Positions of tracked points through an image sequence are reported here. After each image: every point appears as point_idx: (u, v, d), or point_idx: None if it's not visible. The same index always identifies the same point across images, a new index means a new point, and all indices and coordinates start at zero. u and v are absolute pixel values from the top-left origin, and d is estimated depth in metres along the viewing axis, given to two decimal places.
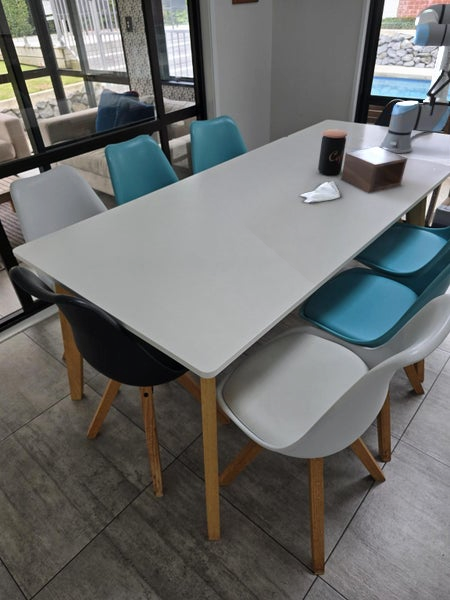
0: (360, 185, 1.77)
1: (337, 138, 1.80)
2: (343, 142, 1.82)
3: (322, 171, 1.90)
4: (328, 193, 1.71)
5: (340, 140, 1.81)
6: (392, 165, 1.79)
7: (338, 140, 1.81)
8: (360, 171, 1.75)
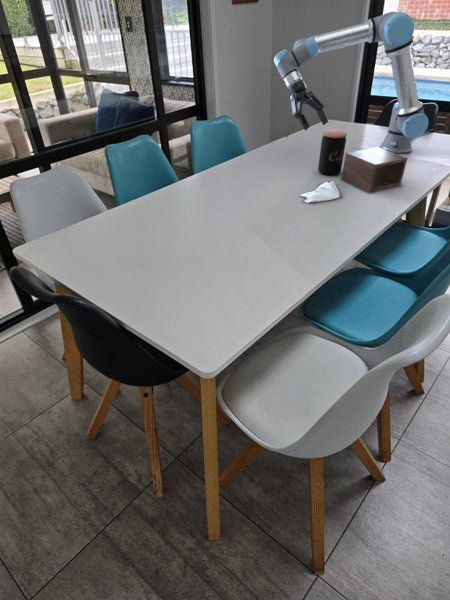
0: (360, 185, 1.77)
1: (337, 138, 1.80)
2: (343, 142, 1.82)
3: (322, 171, 1.90)
4: (328, 193, 1.71)
5: (340, 140, 1.81)
6: (392, 165, 1.79)
7: (338, 140, 1.81)
8: (360, 171, 1.75)
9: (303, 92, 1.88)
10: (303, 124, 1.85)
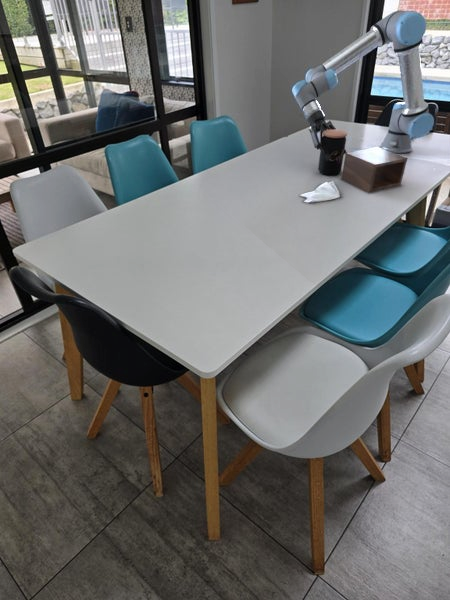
0: (360, 185, 1.77)
1: (337, 138, 1.80)
2: (343, 142, 1.82)
3: (322, 171, 1.90)
4: (328, 193, 1.71)
5: (340, 140, 1.81)
6: (392, 165, 1.79)
7: (338, 140, 1.81)
8: (360, 171, 1.75)
9: (322, 121, 1.87)
10: (325, 155, 1.85)
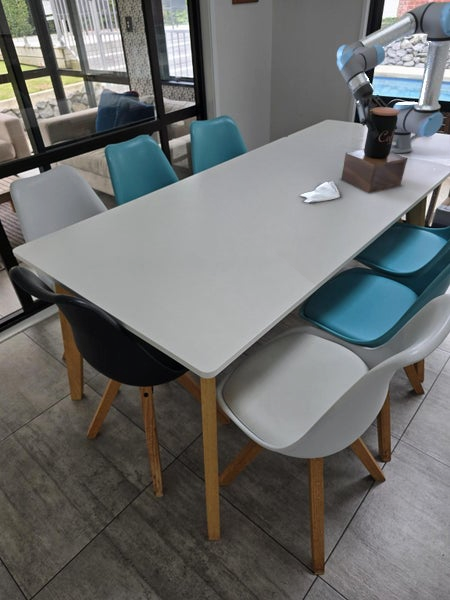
0: (360, 185, 1.77)
1: (389, 116, 1.62)
2: (395, 120, 1.64)
3: (369, 154, 1.72)
4: (328, 193, 1.71)
5: (392, 118, 1.63)
6: (392, 165, 1.79)
7: (390, 118, 1.63)
8: (360, 171, 1.75)
9: (370, 96, 1.69)
10: (371, 132, 1.66)
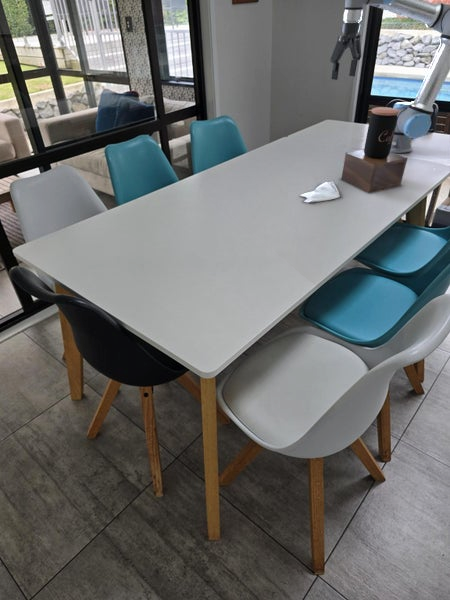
0: (360, 185, 1.77)
1: (389, 116, 1.62)
2: (395, 120, 1.64)
3: (369, 154, 1.72)
4: (328, 193, 1.71)
5: (392, 118, 1.63)
6: (392, 165, 1.79)
7: (390, 118, 1.63)
8: (360, 171, 1.75)
9: (353, 35, 1.79)
10: (333, 72, 1.84)
